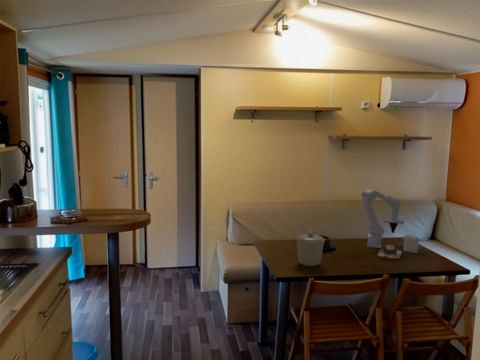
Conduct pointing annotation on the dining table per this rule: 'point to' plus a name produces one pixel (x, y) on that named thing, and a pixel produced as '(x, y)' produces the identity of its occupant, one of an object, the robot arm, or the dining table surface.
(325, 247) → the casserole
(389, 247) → the white round cylinder
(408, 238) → the photo printer
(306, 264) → the canister
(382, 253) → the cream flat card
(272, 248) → the dining table surface
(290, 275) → the dining table surface
